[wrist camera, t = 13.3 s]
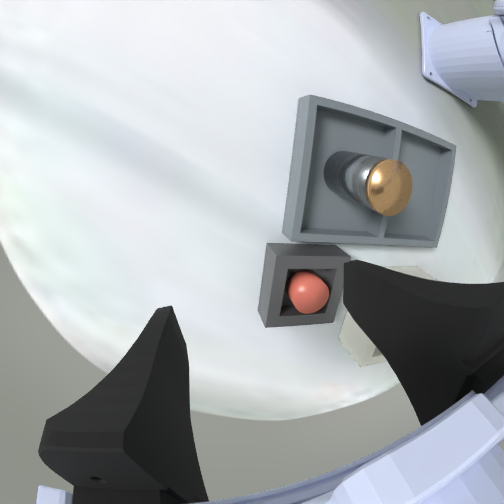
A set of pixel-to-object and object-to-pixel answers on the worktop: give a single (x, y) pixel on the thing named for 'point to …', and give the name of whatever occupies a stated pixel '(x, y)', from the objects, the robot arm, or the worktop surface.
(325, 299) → the tester button
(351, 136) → the tray
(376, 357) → the cup
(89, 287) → the worktop surface
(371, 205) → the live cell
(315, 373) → the worktop surface
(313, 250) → the box
